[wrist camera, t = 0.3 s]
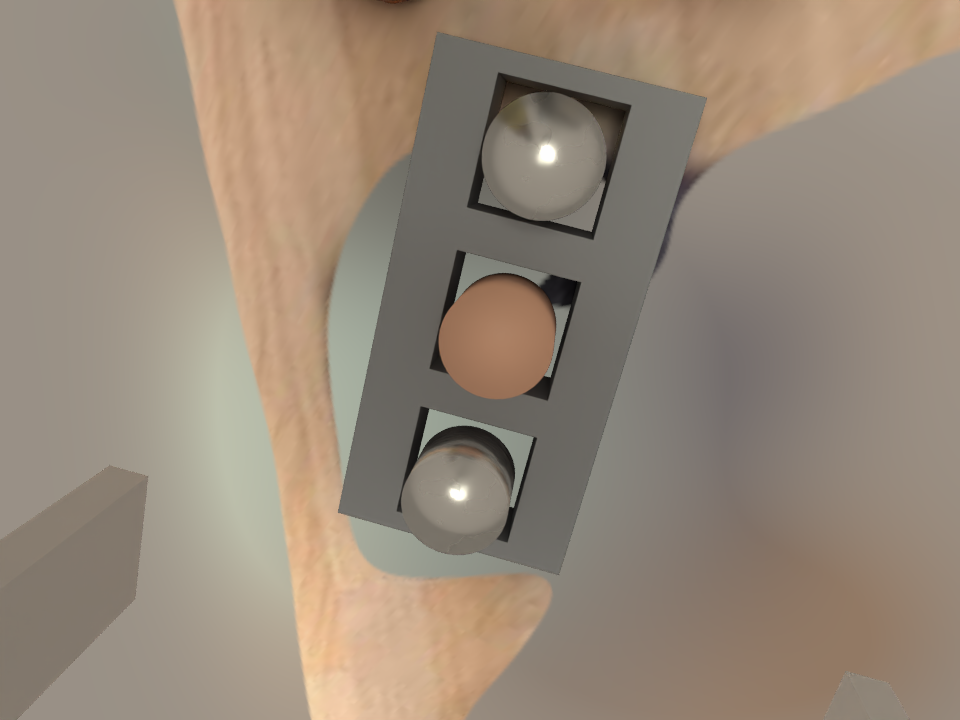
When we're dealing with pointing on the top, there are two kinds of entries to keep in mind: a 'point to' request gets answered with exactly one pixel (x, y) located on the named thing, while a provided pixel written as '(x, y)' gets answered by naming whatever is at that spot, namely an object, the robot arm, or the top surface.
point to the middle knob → (498, 336)
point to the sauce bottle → (393, 1)
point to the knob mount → (527, 243)
